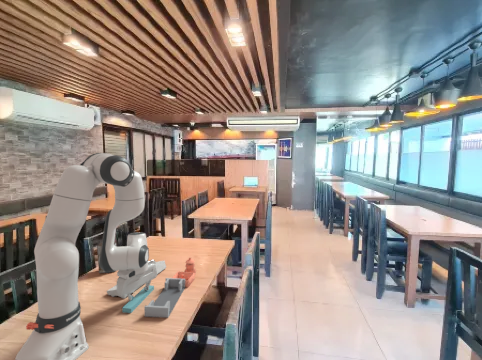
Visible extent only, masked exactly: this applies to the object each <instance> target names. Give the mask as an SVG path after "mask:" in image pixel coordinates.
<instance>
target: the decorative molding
mask: <svg viewBox="0 0 482 360" xmlns="http://www.w3.org/2000/svg"><path fill="white" fill-rule="evenodd" d="M155 262H156V268H157V275H158V274H160V273H162V272H163V271H164V270H165V269H166V268H167V264H166V260H159V261H155ZM141 287H142V286H140V287H138V288H137V289H135V290H133V291H131V294H133V293H134V292H135V291H137V290H138V289H139V288H141ZM106 293H107V295H108V296H111V298H112V297H113V298H114V297H117V296H118V297H119V298H121V299H126V298H127V297H128V296H127V295H124V296H122V295H119V294H118V293H117V284H116V285H114V286H112V287H111V288H108V290H106Z"/></svg>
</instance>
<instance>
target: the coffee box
mask: <svg viewBox="0 0 482 360" xmlns="http://www.w3.org/2000/svg"><path fill="white" fill-rule="evenodd" d="M114 245H115V246H116V247H118V246H117V241H114ZM96 248H97V259H98V260H97V263H98V264H97V265H98V273H99V274H104V273H106V272H105V271H103V270H102V269H101V268H100V267H99V257H100V253H101V248H102V242H99V244H98V245H97V247H96ZM113 272H115V271H113Z"/></svg>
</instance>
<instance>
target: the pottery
mask: <svg viewBox="0 0 482 360" xmlns="http://www.w3.org/2000/svg"><path fill="white" fill-rule="evenodd" d="M195 267H196V265H195V259H193V258H192V257H188V259H187V260H185V269H184V271H180V270H179V271H177V272H176V273H175V274H174V275H173V276H172V277H171V278H179V279H185V288H189V287H190V286H191V285H192V283H193V282H194V281H195V277H196V273H197V270H196V268H195Z"/></svg>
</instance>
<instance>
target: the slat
mask: <svg viewBox="0 0 482 360" xmlns="http://www.w3.org/2000/svg"><path fill="white" fill-rule="evenodd" d="M153 291H155V285H151V284H150V285H149V290H147V291H144V287H143V288H142V289H141V290H140V291H138V293H136V294H135V295H133V296H134V297H133V298H134V299H133V300H131V301H130V300H128V302H127V303H126V304H124V305H123V307H122V310H121V311H122V313H123V314H127V313H128V314H132V313H133V312H134V311H135V310H136V308H138V307H139V306H140V305H141V304H142V303H143V301H144V300H145V299H146V298H148V297H149V295H150V294H151V293H152V292H153Z"/></svg>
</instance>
